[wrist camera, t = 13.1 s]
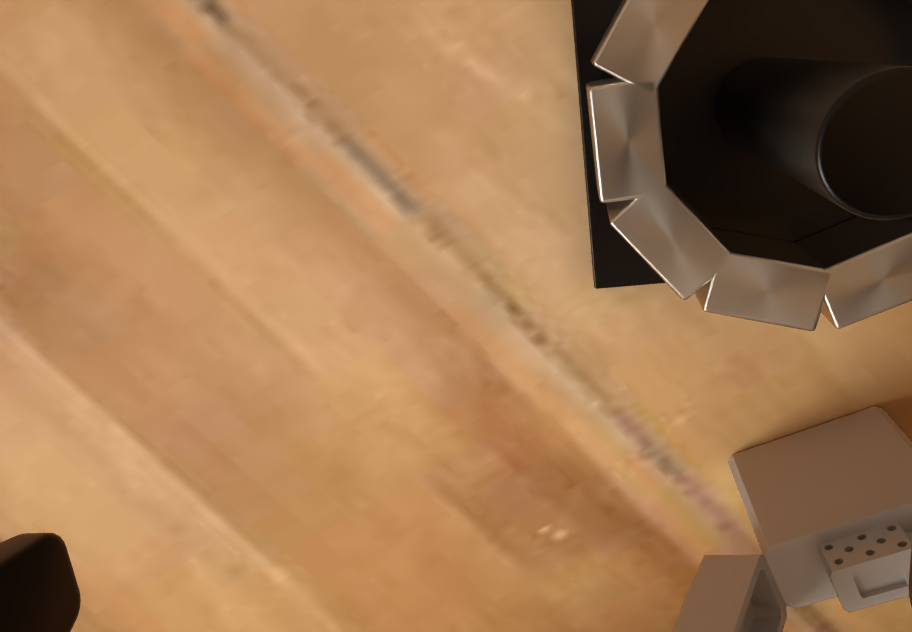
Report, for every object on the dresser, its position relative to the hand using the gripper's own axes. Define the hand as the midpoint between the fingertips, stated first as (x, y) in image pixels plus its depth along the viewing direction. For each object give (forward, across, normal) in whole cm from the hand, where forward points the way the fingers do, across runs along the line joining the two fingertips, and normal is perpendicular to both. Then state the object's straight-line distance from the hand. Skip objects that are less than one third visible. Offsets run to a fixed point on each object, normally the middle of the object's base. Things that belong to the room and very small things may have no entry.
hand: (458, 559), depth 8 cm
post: (+13, -6, -3) cm, 15 cm away
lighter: (+13, -6, +7) cm, 16 cm away
